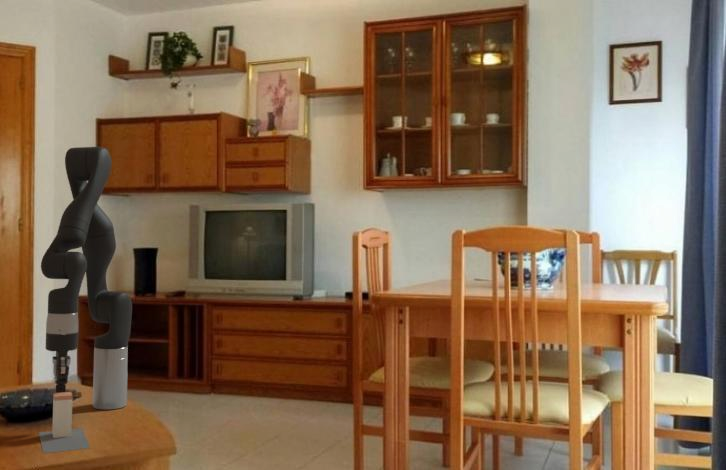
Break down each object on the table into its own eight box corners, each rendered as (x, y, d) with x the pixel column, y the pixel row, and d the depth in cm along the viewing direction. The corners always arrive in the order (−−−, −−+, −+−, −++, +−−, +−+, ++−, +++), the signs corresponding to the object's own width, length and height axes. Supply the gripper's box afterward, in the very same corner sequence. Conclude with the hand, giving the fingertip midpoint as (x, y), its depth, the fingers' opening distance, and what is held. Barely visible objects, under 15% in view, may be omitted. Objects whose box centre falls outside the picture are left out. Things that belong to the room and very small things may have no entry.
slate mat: (38, 434, 175) (38, 432, 175) (81, 430, 179) (81, 428, 179) (43, 455, 159) (43, 453, 159) (90, 450, 163) (90, 448, 163)
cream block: (52, 433, 174) (53, 393, 174) (69, 431, 176) (70, 391, 176) (53, 438, 170) (54, 396, 170) (71, 436, 172) (72, 395, 172)
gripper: (44, 327, 182) (42, 395, 182) (47, 334, 170) (45, 406, 170) (75, 326, 185) (73, 392, 185) (81, 333, 173) (78, 404, 173)
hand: (60, 399), depth 177 cm, fingers closed
